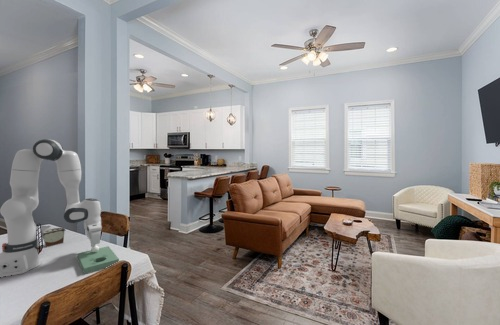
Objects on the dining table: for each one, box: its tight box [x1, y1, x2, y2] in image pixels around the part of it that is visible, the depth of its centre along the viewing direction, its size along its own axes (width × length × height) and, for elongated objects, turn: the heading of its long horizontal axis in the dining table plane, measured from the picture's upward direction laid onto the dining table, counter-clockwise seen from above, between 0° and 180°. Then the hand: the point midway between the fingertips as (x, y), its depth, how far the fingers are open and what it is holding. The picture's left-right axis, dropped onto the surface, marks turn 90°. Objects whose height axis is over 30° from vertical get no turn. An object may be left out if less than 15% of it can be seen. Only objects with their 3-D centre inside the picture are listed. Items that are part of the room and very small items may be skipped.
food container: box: [42, 227, 66, 248], centre depth 159 cm, size 12×6×10 cm, turn 144°
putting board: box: [76, 246, 120, 275], centre depth 135 cm, size 16×24×3 cm, turn 43°
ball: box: [90, 244, 100, 253], centre depth 140 cm, size 4×4×4 cm
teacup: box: [40, 225, 52, 240], centre depth 170 cm, size 15×12×8 cm
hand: (93, 247), depth 145 cm, fingers closed
